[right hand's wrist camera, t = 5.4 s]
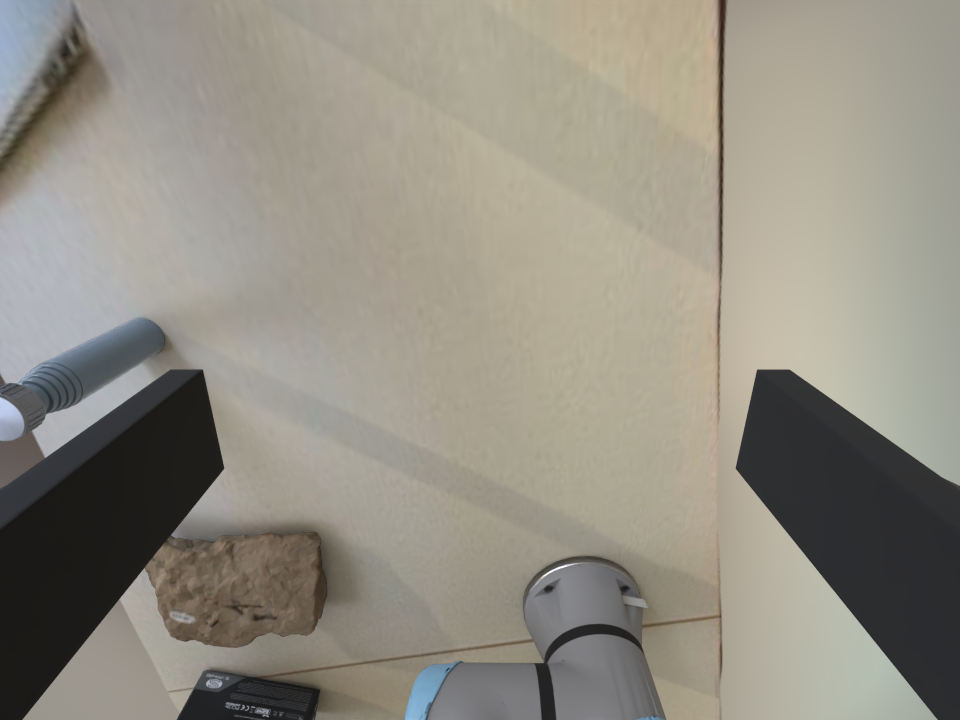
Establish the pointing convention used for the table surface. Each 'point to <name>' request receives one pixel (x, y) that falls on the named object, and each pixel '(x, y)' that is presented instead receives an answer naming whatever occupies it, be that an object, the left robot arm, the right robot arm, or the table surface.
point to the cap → (19, 411)
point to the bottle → (93, 364)
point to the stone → (239, 587)
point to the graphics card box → (248, 699)
